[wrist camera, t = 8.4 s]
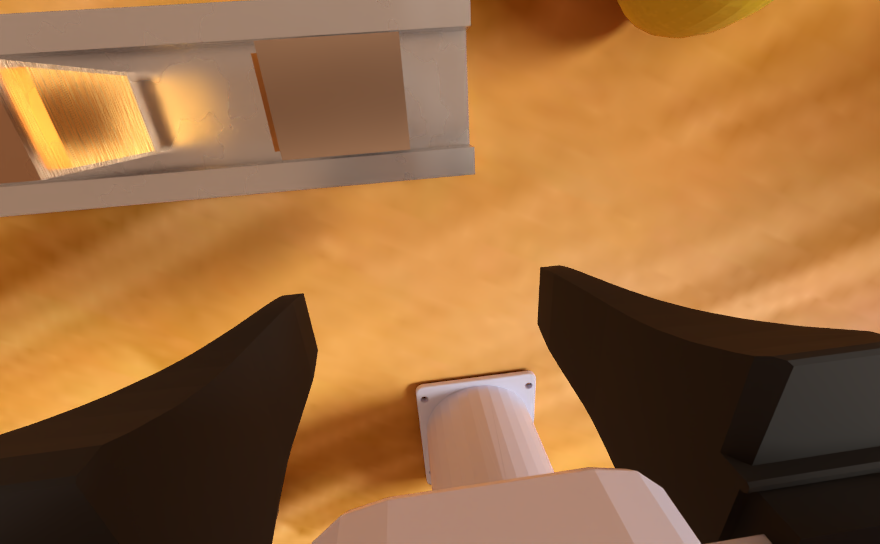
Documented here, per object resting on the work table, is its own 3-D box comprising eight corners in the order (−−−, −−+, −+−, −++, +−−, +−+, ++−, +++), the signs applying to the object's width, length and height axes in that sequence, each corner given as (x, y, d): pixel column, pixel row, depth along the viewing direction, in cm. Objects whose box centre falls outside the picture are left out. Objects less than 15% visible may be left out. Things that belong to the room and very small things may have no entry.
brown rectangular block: (405, 133, 17) (410, 149, 12) (309, 141, 17) (269, 161, 12) (397, 54, 16) (398, 31, 11) (292, 61, 16) (238, 41, 10)
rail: (467, 167, 19) (501, 198, 13) (5, 208, 18) (-206, 266, 11) (461, 0, 16) (502, -61, 10) (-96, 32, 15) (-457, -17, 8)
